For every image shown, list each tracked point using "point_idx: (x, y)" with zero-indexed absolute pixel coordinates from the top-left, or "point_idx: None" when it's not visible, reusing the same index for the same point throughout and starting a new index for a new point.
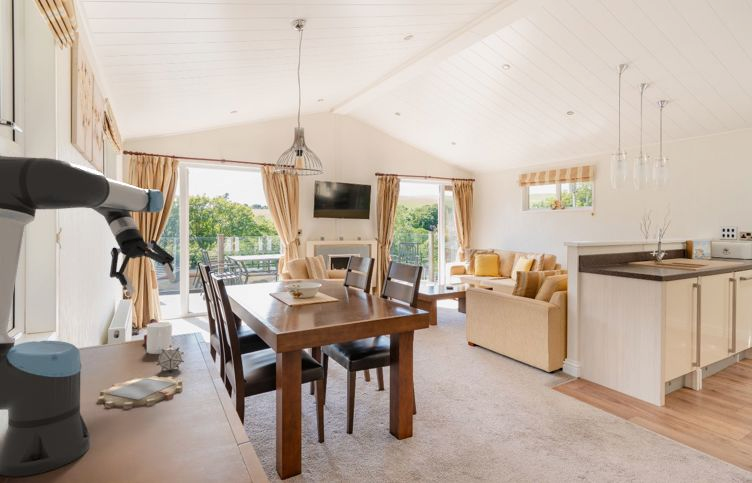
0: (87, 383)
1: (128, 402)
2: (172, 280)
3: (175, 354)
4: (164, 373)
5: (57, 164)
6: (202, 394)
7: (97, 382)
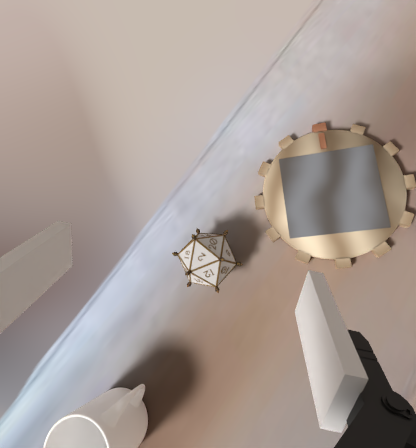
0: None
1: (388, 150)
2: (70, 241)
3: (206, 236)
4: None
5: None
6: (276, 99)
7: None
